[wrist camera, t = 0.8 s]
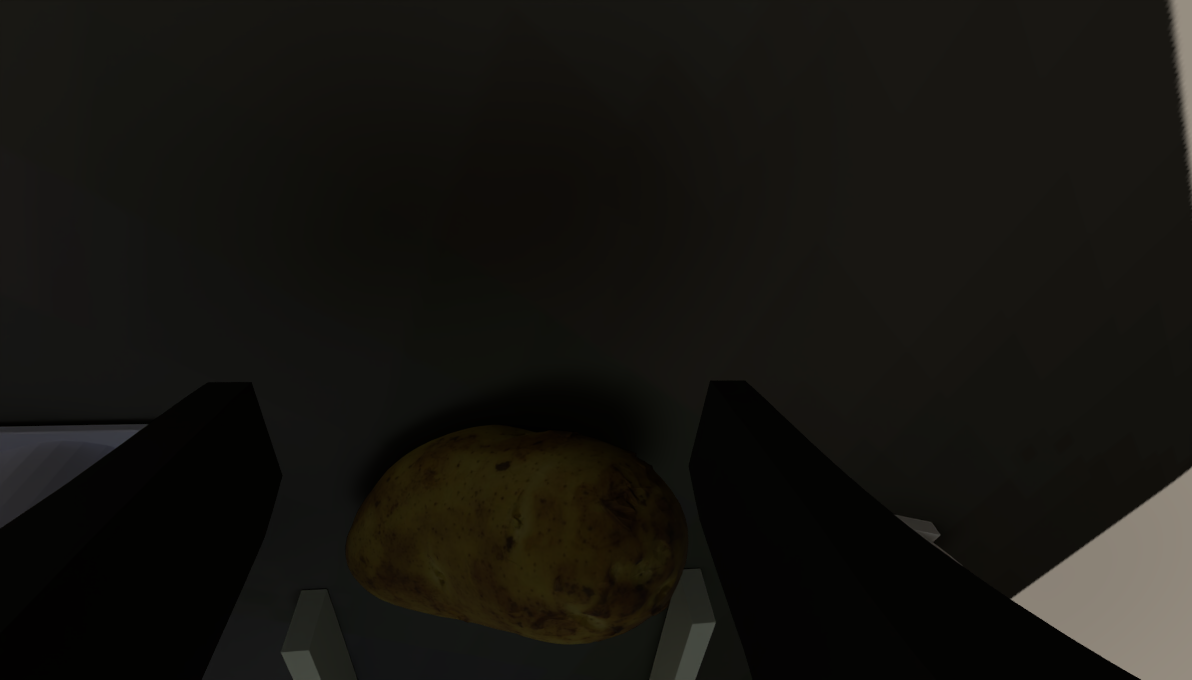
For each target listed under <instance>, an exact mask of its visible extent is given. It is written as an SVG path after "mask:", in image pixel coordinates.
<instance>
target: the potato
mask: <svg viewBox="0 0 1192 680" xmlns="http://www.w3.org/2000/svg"><path fill="white" fill-rule="evenodd" d="M687 551H688V529H687V523H686V519H685V516H684V513H683V510H682V508H681V505H680V503H679V502H678V500H677V498H676V497H675V495H674V494H673V492H672V491H671V490H670V488H669V487H668V486H667V484H666V483H665V482H664V481H663V479H662V478H661V477H660V476H659V475H658V474H657V473H656V472H655V471H654V470H653V468H652V466H651V465H649V464H648V463H646V462H645V461H642V460H640V459H639V458H637V457H636V453H634V452H631V451H627V450H623V449H621V448H619V447H616V446H613V445H611V444H608V443H606V442H603V441H600V440H599V439H596V438H594V437H590V436H585V435H582V434H578V432H569V431H554V430H549V431H545V432H537V433H536V432H532V431H529V430H525V429H521V428H516V427H511V426H505V425H484V426H477V427H472V428H467V429H463V430H460V431H457V432H453V433H450V434H447V435H444V436H442V437H439V438H437V439H434V440H431V441H429V442H427V443H425V444H423V445H421V446H420V447H418V448H416V449H414V450H413V451H411V452H409V453H408V454H406V455H405V456H404V457H402V458H401V459H400V460H398V461H397V462H396V463H395V464H394V465H393V466H391V467H390V468H389V469H388V470H387V471H386V472H385V473H384V475H383V476H382V477H381V478H380V480H379V481H378V482H377V484H376V485H375V486H374V488H373V489H372V491H371V492H370V493H369V494H368V496H367V497H366V499H365V500H364V502H363V503H362V505H361V506H360V508H359V510H358V512H357V514H356V516H355V519H354V521H353V525H352V527H351V529H350V531H349V534H348V536H347V541H346V560H347V564H348V567H349V569H350V571H351V573H352V575H353V576H354V577H355V579H356V580H357V581H358V582H359V583H360V584H361V585H362V586H363V587H364V588H365V589H366V590H367V591H368V592H370V593H371V594H373V595H375V596H376V597H378V598H379V599H381V600H384V601H386V602H389V603H391V604H394V605H397V606H400V607H404V608H407V609H411V610H415V611H419V612H423V613H428V614H432V615H437V616H441V617H447V618H453V619H459V620H463V621H465V622H473V623H477V624H481V625H485V626H488V627H492V628H495V629H499V630H504V631H508V632H512V633H516V634H519V635H521V636H524V637H528V638H532V639H536V640H540V641H545V642H550V643H557V644H582V643H591V642H594V641H601V640H604V639H607V638H611V637H614V636H617V635H620V634H623V633H625V632H627V631H629V630H631V629H633V628H635V627H637V626H638V625H640V624H641V623H643V622H644V621H645V620H647V619H648V618H650V617H651V616H654V615H656V614H658V613H660V612H662V611H663V610H664V609H665V608H667V607H668V606H669V604H670V600H671V597H672V595H673V593H674V591H675V589H676V587H677V585H678V583H679V580H680V578H681V576H682V573H683V570H684V566H685V563H686V558H687Z"/></svg>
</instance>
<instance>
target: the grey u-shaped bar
mask: <svg viewBox="0 0 1192 680" xmlns="http://www.w3.org/2000/svg"><path fill="white" fill-rule="evenodd" d="M715 623H716V621H715V618H714V614H713V611H712V608H711V604H710V601H709V597H708V594H707V590H706V587H705V583H704V580H703V576H702V573H701V569H700V568H699V569H684V570H683V573H682V576H681V578H680V580H679V583H678V585H677V587H676V589H675V591H674V593H673V595H672V597H671V601H670V604H669V608H668V612H667V616H666V619H665V623H664V627H663V630H662V634H661V638H660V642H659V645H658V649H657V653H656V657H655V660H654V664H653V668H652V672H651V675H650V679H649V680H695V678H696V676H697V673H698V670H699V667H700V665H701V662H702V659H703V656H704V654H705V651H706V648H707V645H708V643H709V640H710V637H711V634H712V631H713V629H714V626H715ZM281 654H282V656H283V658H284V660H285V662H286V665H287V667H288V669H289V671H290V673H291V675H292V677H293V680H357V677H356V674H355V671H354V668H353V665H352V662H351V659H350V656H349V653H348V650H347V647H346V644H345V641H344V638H343V635H342V632H341V629H340V626H339V623H338V620H337V617H336V614H335V612H334V609H333V606H332V603H331V600H330V597H329V594H328V591H327V589H320V590H302V591H301V593H300V596H299V599H298V602H297V605H296V608H295V611H294V614H293V617H292V620H291V623H290V626H289V629H288V632H287V635H286V638H285V641H284V644H283V647H282V650H281Z"/></svg>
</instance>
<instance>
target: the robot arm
mask: <svg viewBox="0 0 1192 680" xmlns="http://www.w3.org/2000/svg"><path fill="white" fill-rule="evenodd" d="M689 470H690V475H691V480H692V485H693V490H694V496H695V500H696V505H697V509H698V514H699V518H700V522H701V525H702V528H703V531H704V534H705V537H706V540H707V543H708V546H709V549H710V552H711V555H712V558H713V561H714V564H715V567H716V570H717V573H718V576H719V579H720V582H721V585H722V587H723V590H724V593H725V596H726V599H727V602H728V605H729V608H730V611H731V614H732V617H733V619H734V622H735V625H736V628H737V631H738V634H739V637H740V640H741V643H742V646H743V649H744V652H745V655H746V659H747V662H748V665H749V668H750V672H751V675H752V679H753V680H1141V679H1139V678H1137V677H1135V676H1134V675H1132V674H1130V673H1128V672H1127V671H1125V670H1123V669H1121V668H1120V667H1118V666H1116V665H1115V664H1113V663H1111V662H1110V661H1108V660H1106V659H1104V658H1103V657H1101V656H1100V655H1098V654H1096V653H1095V652H1093V651H1091V650H1090V649H1088V648H1086V647H1084V646H1083V645H1081V644H1080V643H1078V642H1076V641H1075V640H1073V639H1071V638H1070V637H1068V636H1067V635H1065V634H1064V633H1062V632H1060V631H1059V630H1057V629H1056V628H1054V627H1052V626H1051V625H1049V624H1048V623H1046V622H1045V621H1043V620H1042V619H1040V618H1039V617H1037V616H1036V615H1034V614H1032V613H1031V612H1029V611H1028V610H1026V609H1024V608H1023V607H1022V606H1020V605H1018V604H1017V603H1015V602H1013V601H1012V600H1011V599H1009V598H1008V597H1006V596H1005V595H1003V594H1002V593H1000V592H999V591H997V590H996V589H994V588H993V587H991V586H990V585H988V584H987V583H986V582H984V581H983V580H981V579H980V578H978V577H977V576H975V575H974V574H973V573H971V572H970V571H969V570H967V569H966V568H964V567H963V566H962V565H960V564H959V563H957V562H956V561H955V560H953V559H952V558H951V557H949V556H948V555H946V554H945V553H944V552H942V551H941V550H940V549H938V548H937V547H935V546H934V545H933V544H931V543H930V542H929V541H927V540H926V539H925V538H923V537H922V536H921V535H919V534H918V533H917V532H916V531H914V530H913V529H912V528H910V527H909V526H908V525H907V524H905V523H904V522H903V521H902V520H900V519H899V518H898V517H897V516H895V515H894V514H893V513H892V512H891V511H889V510H888V509H887V508H886V507H884V506H883V505H882V504H881V503H880V502H878V501H877V500H876V499H875V498H874V497H872V496H871V495H870V494H869V493H867V492H866V491H865V490H864V489H863V488H862V487H860V486H859V485H858V484H857V483H856V482H855V481H853V480H852V479H851V478H850V477H849V476H848V475H847V474H845V473H844V472H843V471H842V470H841V469H840V468H839V467H838V466H836V465H835V464H834V463H833V462H832V461H831V460H830V459H829V458H828V457H826V456H825V455H824V454H823V453H822V452H821V451H820V450H819V449H818V448H817V447H816V446H814V445H813V444H812V443H811V442H810V441H809V440H808V439H807V438H806V437H805V436H804V435H803V434H802V433H800V432H799V431H798V430H797V429H796V428H795V427H794V426H793V425H792V424H791V423H790V422H789V421H788V420H787V419H786V418H785V417H784V416H782V415H781V414H780V413H779V412H778V411H777V410H776V409H775V408H774V407H773V406H772V405H771V404H770V403H769V402H768V401H767V400H766V399H765V398H763V397H762V396H761V395H760V394H759V393H758V392H757V391H756V390H755V389H754V388H753V387H751V386H750V385H749V384H748V383H747V382H746V381H710V384H709V387H708V391H707V395H706V399H705V403H704V407H703V411H702V415H701V419H700V423H699V427H698V431H697V435H696V439H695V443H694V447H693V451H692V455H691V458H690V462H689ZM281 479H282V473H281V470H280V467H279V464H278V461H277V458H276V455H275V452H274V449H273V446H272V443H271V440H270V437H269V434H268V431H267V428H266V425H265V422H264V419H263V416H262V413H261V410H260V407H259V404H258V401H257V398H256V395H255V392H254V389H253V386H252V383H251V382H208V383H206V384H205V385H203V386H202V387H200V388H199V389H197V390H196V391H194V392H193V393H191V394H190V395H188V396H187V397H186V398H184V399H183V400H181V401H180V402H179V403H177V404H176V405H174V406H173V407H172V408H170V409H169V410H167V411H166V412H165V413H163V414H162V415H161V416H159V417H158V418H156V419H155V420H154V421H152V422H151V423H150V424H122V425H67V426H12V427H0V680H202V678H203V675H204V673H205V671H206V669H207V666H208V664H209V662H210V660H211V657H212V655H213V653H214V651H215V648H216V646H217V644H218V642H219V639H220V637H221V635H222V633H223V630H224V628H225V626H226V624H227V622H228V619H229V617H230V615H231V613H232V610H233V608H234V606H235V604H236V601H237V599H238V597H239V595H240V592H241V590H242V588H243V586H244V583H245V581H246V579H247V577H248V574H249V572H250V570H251V567H252V565H253V563H254V561H255V558H256V556H257V554H258V551H259V549H260V547H261V544H262V542H263V539H264V537H265V534H266V531H267V527H268V524H269V521H270V518H271V514H272V511H273V508H274V504H275V501H276V497H277V493H278V490H279V486H280V482H281Z"/></svg>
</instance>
